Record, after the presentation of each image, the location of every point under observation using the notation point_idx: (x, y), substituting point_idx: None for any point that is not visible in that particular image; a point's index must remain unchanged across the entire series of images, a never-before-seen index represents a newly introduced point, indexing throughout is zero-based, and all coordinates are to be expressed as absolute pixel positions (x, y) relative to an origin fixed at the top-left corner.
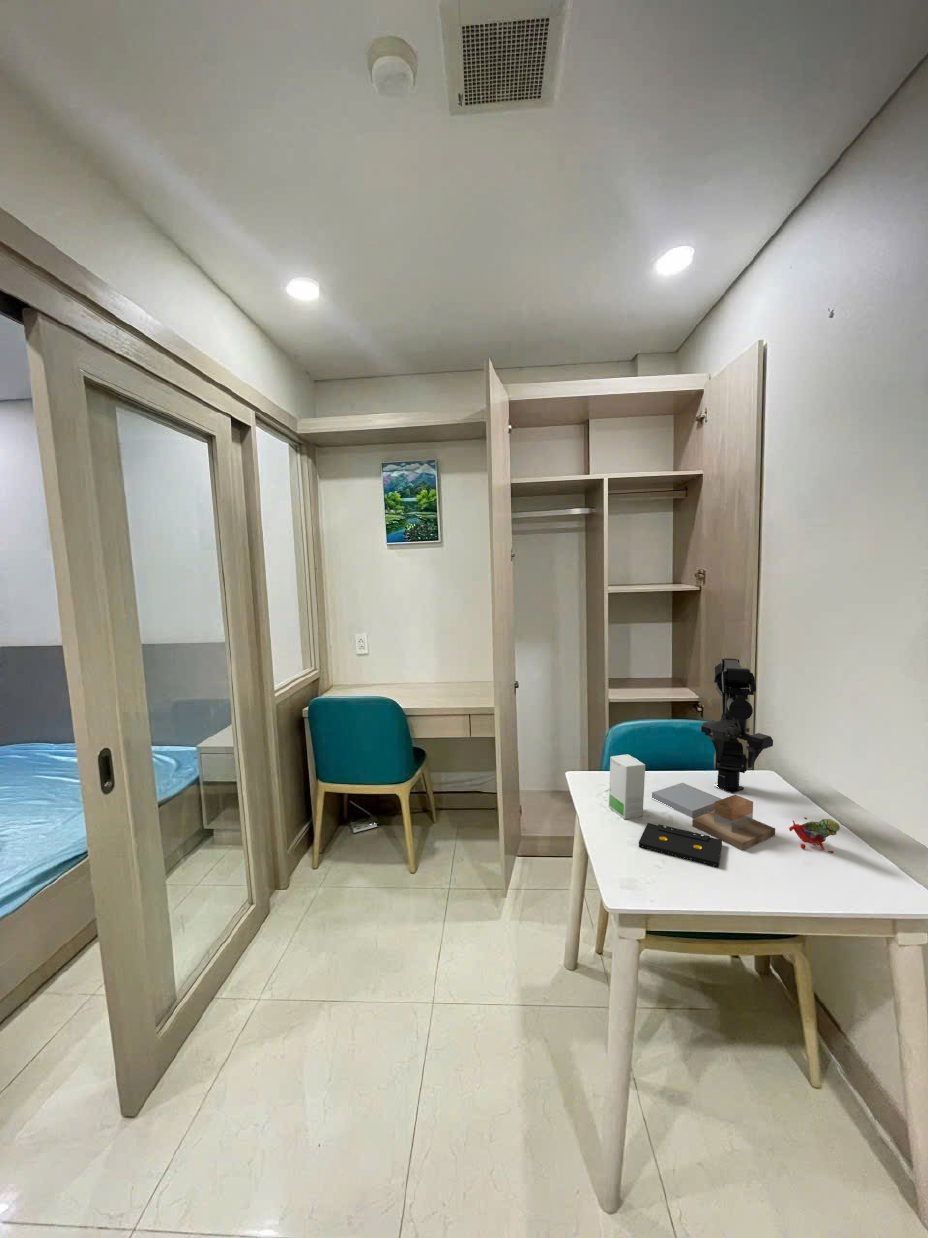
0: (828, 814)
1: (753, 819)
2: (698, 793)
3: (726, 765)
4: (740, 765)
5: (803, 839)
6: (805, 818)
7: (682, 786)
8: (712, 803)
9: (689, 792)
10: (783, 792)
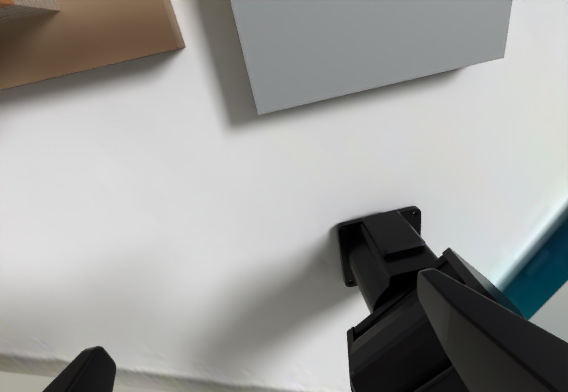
0: (124, 368)
1: (8, 83)
2: (366, 35)
3: (409, 299)
4: (355, 350)
5: None
6: None
7: (475, 13)
8: (234, 9)
9: None
10: (280, 357)
